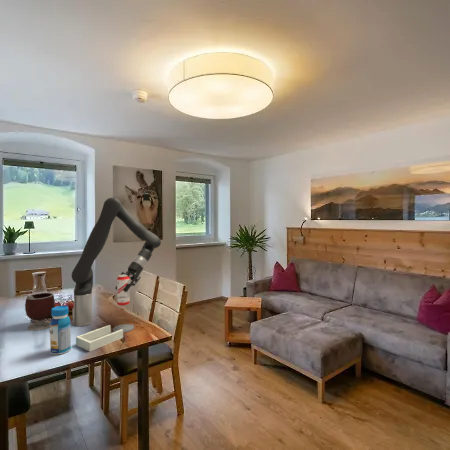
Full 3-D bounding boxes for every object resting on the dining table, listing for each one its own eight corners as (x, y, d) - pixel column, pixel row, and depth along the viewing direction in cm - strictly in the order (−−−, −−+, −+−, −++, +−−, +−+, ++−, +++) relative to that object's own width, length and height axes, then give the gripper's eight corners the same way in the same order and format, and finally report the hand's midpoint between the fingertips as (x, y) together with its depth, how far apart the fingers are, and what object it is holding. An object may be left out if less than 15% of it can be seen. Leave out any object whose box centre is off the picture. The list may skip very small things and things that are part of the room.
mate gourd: (46, 319, 172) (46, 286, 171) (60, 324, 165) (59, 289, 164) (17, 328, 159) (16, 292, 158) (30, 334, 152) (29, 296, 151)
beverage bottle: (69, 354, 130) (68, 309, 130) (47, 356, 128) (46, 311, 127) (73, 345, 138) (72, 304, 138) (53, 348, 136) (52, 305, 135)
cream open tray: (89, 351, 133) (89, 342, 133) (76, 345, 139) (75, 337, 139) (123, 337, 148) (123, 329, 147) (109, 332, 154) (109, 324, 154)
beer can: (119, 303, 161) (118, 274, 161) (130, 302, 162) (130, 274, 161) (115, 306, 155) (115, 277, 154) (127, 306, 156) (127, 276, 155)
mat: (109, 332, 154) (109, 331, 154) (118, 324, 165) (118, 323, 165) (129, 333, 153) (129, 332, 153) (137, 325, 164) (137, 324, 164)
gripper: (125, 260, 168) (107, 284, 158) (142, 262, 160) (124, 288, 150) (133, 267, 172) (116, 292, 163) (150, 270, 164) (133, 296, 155)
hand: (120, 290), depth 157 cm, fingers closed on beer can, 6 cm apart
